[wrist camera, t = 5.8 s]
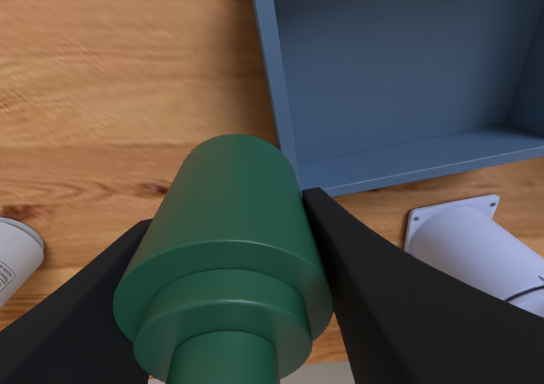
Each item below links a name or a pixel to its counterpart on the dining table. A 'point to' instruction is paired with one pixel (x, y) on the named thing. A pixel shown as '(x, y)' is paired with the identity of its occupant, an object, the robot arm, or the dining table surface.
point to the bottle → (226, 272)
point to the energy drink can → (17, 256)
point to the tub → (402, 87)
